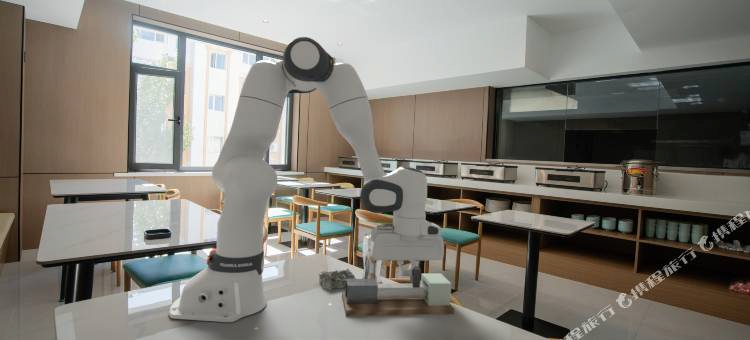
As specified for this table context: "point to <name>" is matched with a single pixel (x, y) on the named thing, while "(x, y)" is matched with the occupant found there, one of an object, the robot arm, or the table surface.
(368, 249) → the beer glass
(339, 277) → the egg carton
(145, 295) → the table surface
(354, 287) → the sleeve
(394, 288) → the light grey bar piece
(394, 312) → the base board
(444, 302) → the socket
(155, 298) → the table surface
